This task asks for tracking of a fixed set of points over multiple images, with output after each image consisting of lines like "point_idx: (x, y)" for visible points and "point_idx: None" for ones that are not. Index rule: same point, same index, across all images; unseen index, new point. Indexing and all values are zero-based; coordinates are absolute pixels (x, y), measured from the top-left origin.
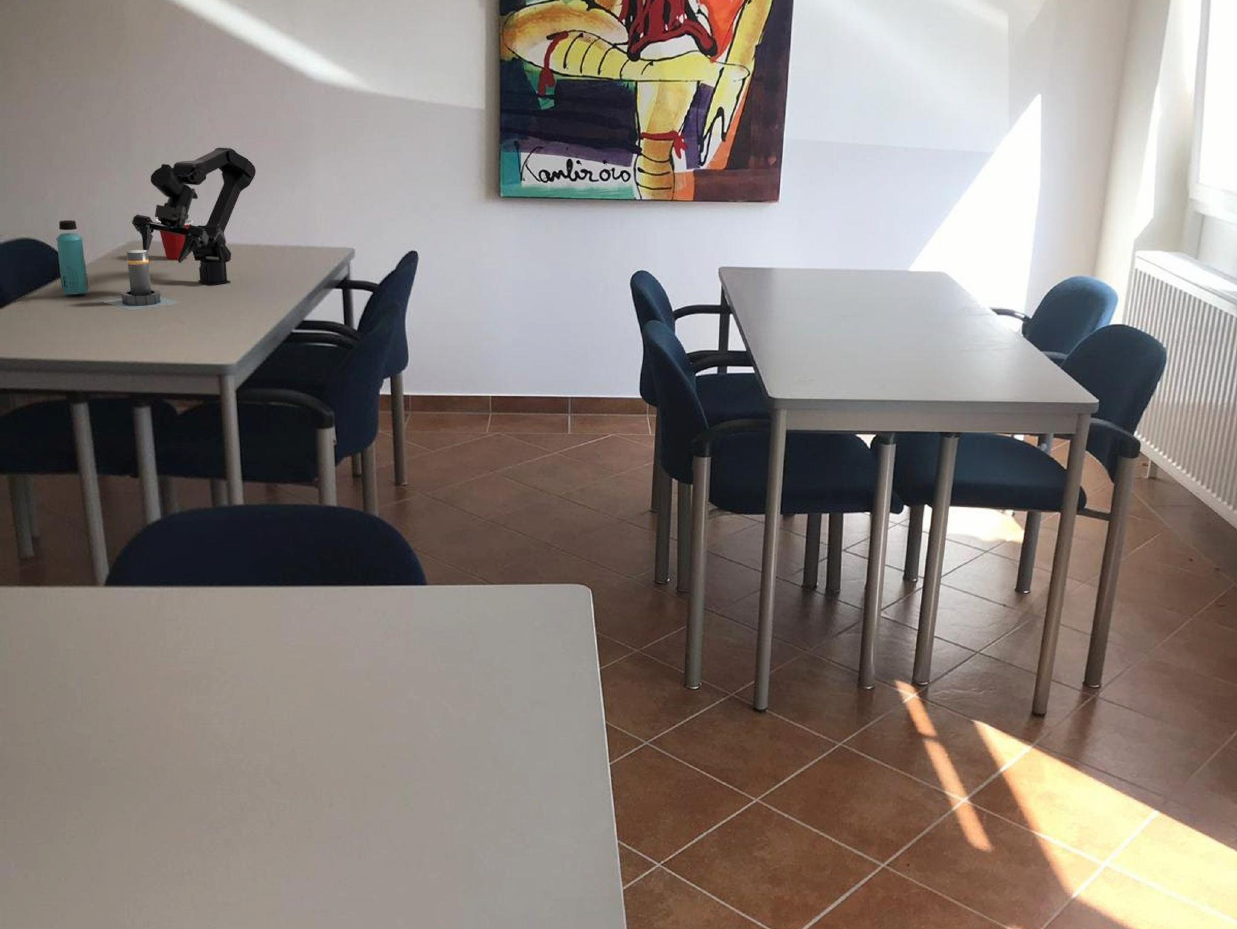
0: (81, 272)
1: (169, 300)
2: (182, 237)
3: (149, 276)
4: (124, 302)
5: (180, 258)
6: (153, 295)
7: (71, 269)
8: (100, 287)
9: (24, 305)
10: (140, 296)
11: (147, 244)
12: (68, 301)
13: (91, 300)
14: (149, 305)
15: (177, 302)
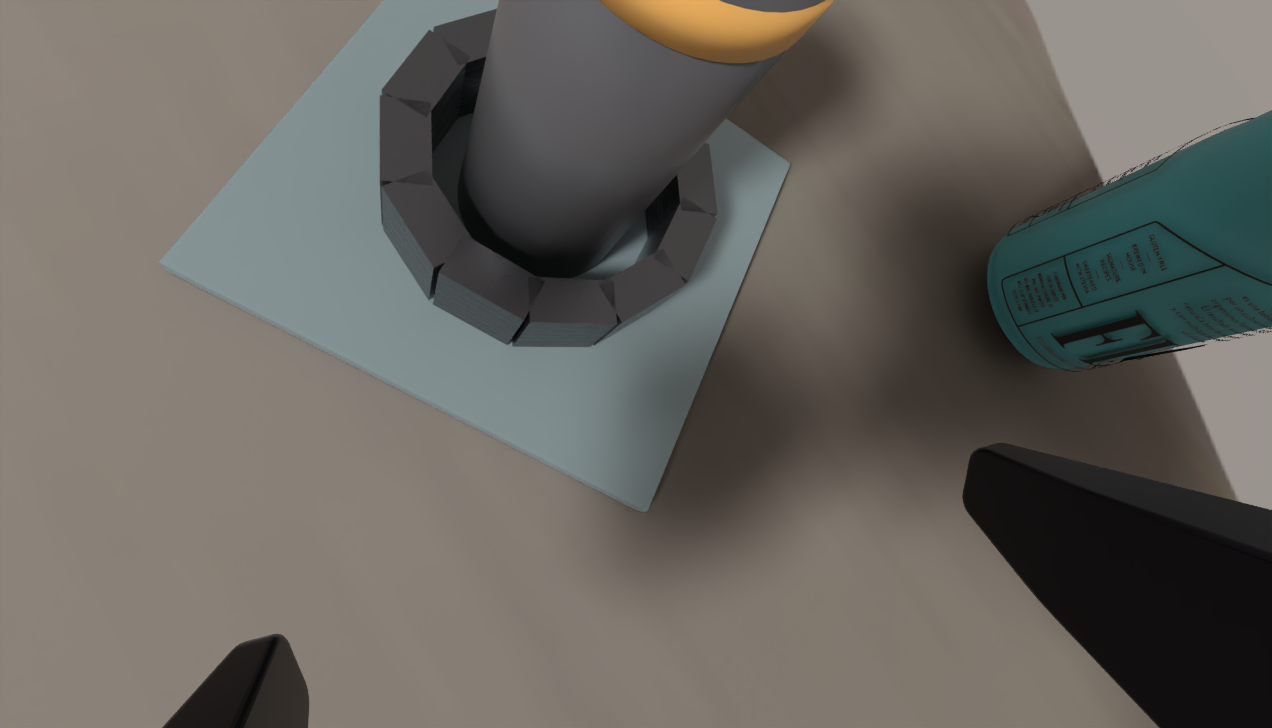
0: (1137, 217)
1: (348, 332)
2: None
3: (498, 62)
4: None
5: (197, 707)
6: (386, 84)
7: (1185, 149)
8: None
9: (1035, 70)
10: (473, 17)
11: (1234, 626)
12: (964, 198)
13: (895, 256)
14: None
15: (210, 269)
